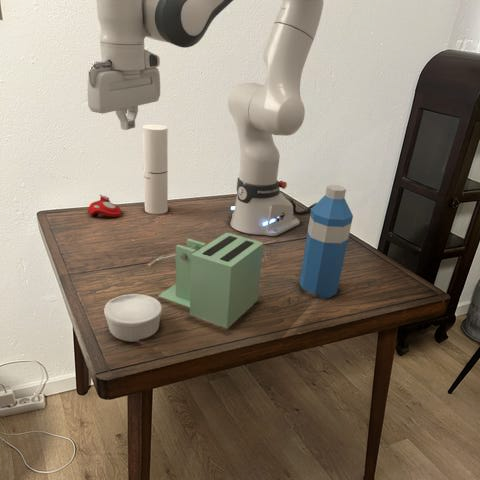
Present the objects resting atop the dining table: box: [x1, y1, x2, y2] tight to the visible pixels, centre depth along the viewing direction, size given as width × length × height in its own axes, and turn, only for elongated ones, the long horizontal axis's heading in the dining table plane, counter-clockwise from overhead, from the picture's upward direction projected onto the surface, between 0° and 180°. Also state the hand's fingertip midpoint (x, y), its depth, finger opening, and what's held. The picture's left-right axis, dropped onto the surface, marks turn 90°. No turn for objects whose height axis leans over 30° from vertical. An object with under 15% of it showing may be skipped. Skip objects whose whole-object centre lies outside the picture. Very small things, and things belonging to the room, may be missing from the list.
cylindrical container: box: [141, 123, 169, 215], centre depth 149 cm, size 7×7×25 cm
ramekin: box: [103, 293, 163, 343], centre depth 98 cm, size 11×11×5 cm
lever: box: [146, 244, 199, 269], centre depth 108 cm, size 12×5×2 cm, turn 61°
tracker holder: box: [87, 194, 122, 218], centre depth 150 cm, size 12×4×10 cm
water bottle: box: [298, 184, 354, 299], centre depth 113 cm, size 9×9×25 cm
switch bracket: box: [157, 238, 207, 309], centre depth 108 cm, size 11×9×13 cm
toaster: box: [188, 232, 265, 330], centre depth 104 cm, size 9×14×15 cm, turn 152°
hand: (128, 128), depth 110 cm, fingers closed
